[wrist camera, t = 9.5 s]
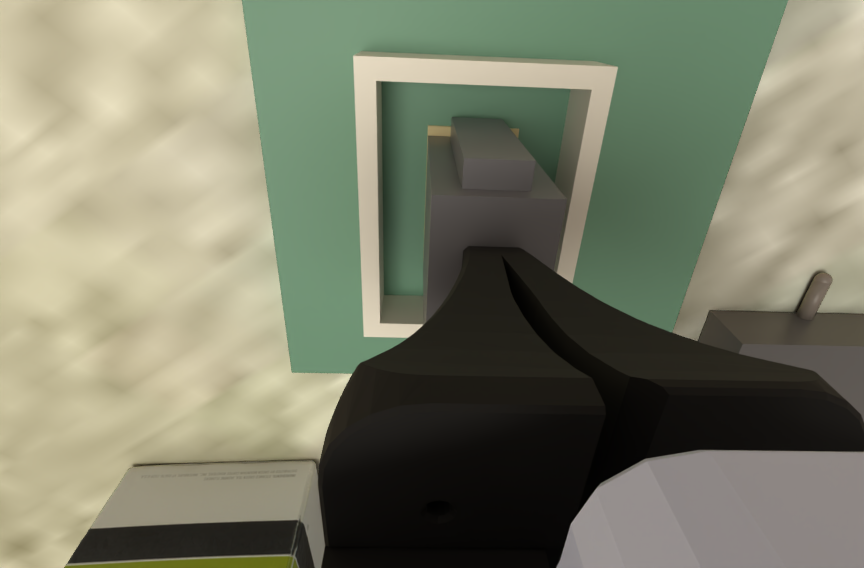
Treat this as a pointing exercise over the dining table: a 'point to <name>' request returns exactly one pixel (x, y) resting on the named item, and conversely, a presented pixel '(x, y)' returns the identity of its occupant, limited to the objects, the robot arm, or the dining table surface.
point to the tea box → (209, 518)
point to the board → (526, 117)
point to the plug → (484, 202)
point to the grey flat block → (799, 340)
